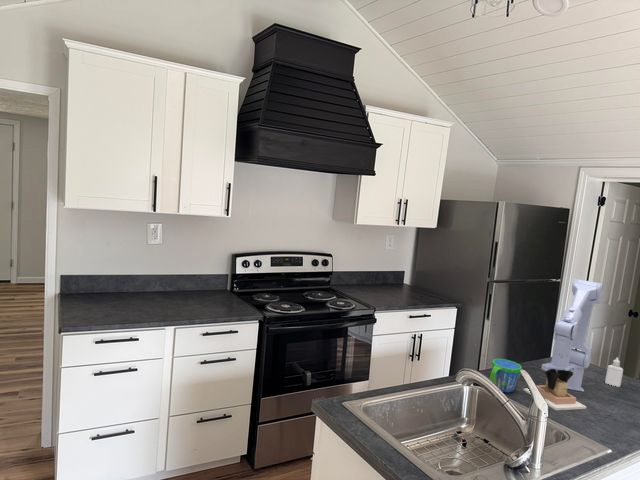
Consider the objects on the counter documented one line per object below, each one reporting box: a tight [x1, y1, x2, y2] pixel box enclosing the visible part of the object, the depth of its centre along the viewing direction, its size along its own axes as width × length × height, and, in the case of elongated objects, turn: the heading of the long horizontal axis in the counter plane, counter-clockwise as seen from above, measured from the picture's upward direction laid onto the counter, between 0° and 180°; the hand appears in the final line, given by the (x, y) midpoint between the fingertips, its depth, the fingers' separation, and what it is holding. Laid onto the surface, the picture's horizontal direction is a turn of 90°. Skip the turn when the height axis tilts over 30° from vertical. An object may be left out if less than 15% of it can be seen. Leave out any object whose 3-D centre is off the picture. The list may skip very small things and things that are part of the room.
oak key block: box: [545, 378, 568, 397], centre depth 171 cm, size 6×4×5 cm, turn 18°
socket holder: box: [523, 384, 587, 411], centre depth 172 cm, size 16×14×3 cm
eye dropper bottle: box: [604, 357, 624, 388], centre depth 194 cm, size 4×6×12 cm
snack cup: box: [488, 358, 523, 393], centre depth 176 cm, size 16×10×10 cm
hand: (555, 388), depth 172 cm, fingers closed on oak key block, 4 cm apart
